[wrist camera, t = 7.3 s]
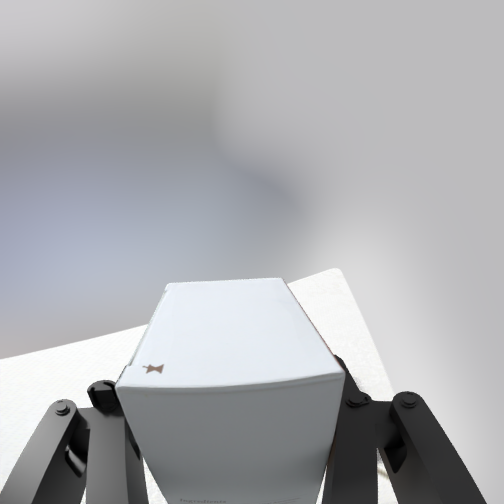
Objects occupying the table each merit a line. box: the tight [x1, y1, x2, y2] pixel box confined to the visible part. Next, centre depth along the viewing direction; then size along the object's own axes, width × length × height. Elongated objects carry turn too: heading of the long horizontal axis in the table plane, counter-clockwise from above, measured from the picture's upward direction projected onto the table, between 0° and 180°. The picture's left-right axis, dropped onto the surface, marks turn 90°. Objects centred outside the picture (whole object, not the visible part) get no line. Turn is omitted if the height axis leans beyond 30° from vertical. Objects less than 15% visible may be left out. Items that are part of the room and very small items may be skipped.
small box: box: [115, 278, 345, 504], centre depth 11 cm, size 8×6×10 cm
